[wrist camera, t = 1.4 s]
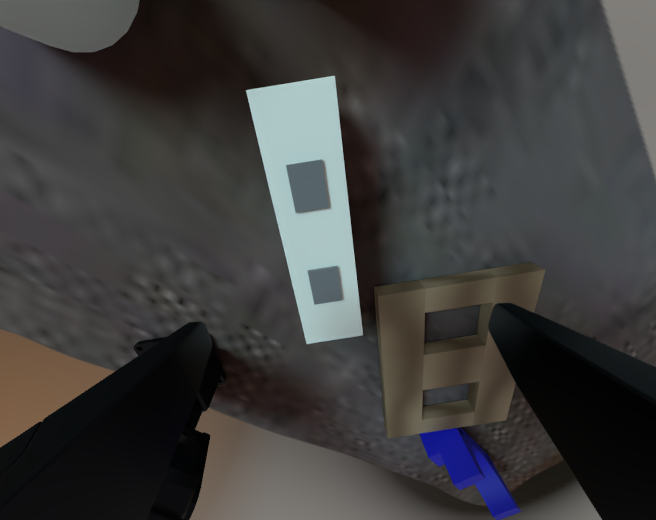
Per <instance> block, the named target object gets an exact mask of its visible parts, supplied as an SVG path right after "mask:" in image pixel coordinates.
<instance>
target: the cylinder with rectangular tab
mask: <svg viewBox="0 0 656 520" xmlns="http://www.w3.org/2000/svg"><path fill="white" fill-rule="evenodd" d="M139 1H140V0H0V27H3V28H5V29H8V30H10V31H13V32H16V33H18V34H21V35H23V36H26V37H28V38H31V39H33V40H36V41H38V42H41V43H43V44H46V45H49V46H52V47H55V48H59V49H62V50H66V51H70V52H96V51H99V50H101V49H104V48H107V47H109V46H112V45H114V44H115V43H116V42H117V41H118V40H119V39H120V38H121V37H122V36H123V35H124V34H125V33H127V31H128V30H129V28H130V26H131V24H132V22H133V20H134V18H135V16H136V14H137V12H138V6H139Z"/></svg>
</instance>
